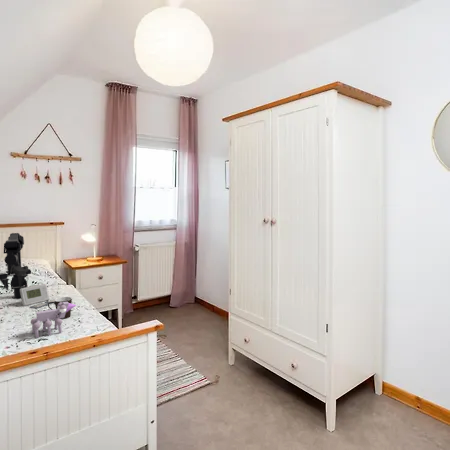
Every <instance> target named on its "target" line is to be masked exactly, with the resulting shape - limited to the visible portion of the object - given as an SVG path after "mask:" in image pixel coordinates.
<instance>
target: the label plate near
mask: <svg viewBox="0 0 450 450" xmlns="http://www.w3.org/2000/svg"><path fill="white" fill-rule="evenodd" d="M47 306H48V303H45V302H41V303H37V304H33V305H32V306H31V305H29V308H31V309H36V310H38V309H40V308H41V309H42V308H43V307H47Z"/></svg>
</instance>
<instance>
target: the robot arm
mask: <svg viewBox="0 0 450 450" xmlns="http://www.w3.org/2000/svg"><path fill="white" fill-rule="evenodd" d="M24 245H25V239H24V236H22V235H20V233H19V232H12V233H10V234H9V236H8V237H7V240H5V241H4V243H3V254H6V256H5V257H4V262H5V266H6V269H7V270H6V271H5V273H4V272H0V282H1V284H2V286H3V287H4V288H5V290H6V291H9V280H10V278H8V277H12V278H11V280H10V290H11V291H12V290H13V296H11V299H17V300H19V299H20V300H21V295H20V289H21V288H26V287H28V281H27V279H26V277H28V276H29V275H31V274H32V270H31V268H29V266H28V265H24V266H22V254H21V253H22V252H21V251H22V249H23V248H24Z"/></svg>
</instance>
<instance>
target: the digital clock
mask: <svg viewBox="0 0 450 450" xmlns="http://www.w3.org/2000/svg"><path fill="white" fill-rule="evenodd" d="M20 295H21V298H20V300H21V304H22V307H26V306H31V305H32V306H33V305H37V304H40V303H45V302H47V301H50V295H49V291H48V286H47V284H46V283H40V284H35V285H32V286H31V285H30V286H27V287H26V288H21V289H20Z"/></svg>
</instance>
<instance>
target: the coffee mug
mask: <svg viewBox="0 0 450 450" xmlns="http://www.w3.org/2000/svg"><path fill="white" fill-rule="evenodd" d="M54 299H55V300H54ZM54 299H53V300H54V301H55V302H50V303H53V304H54V306H55V310H56V309H58V308H57V307H58V306H57V305H58V303H60V302H62V303H63V302H68V303H71V304H73V302H72V301H73V298H72V297H71V296H62V297H57V298H54ZM50 303H47V304H48V305H47V306H48V308H49V310H52V309H53V308H52V307H51V306H50V305H51V304H50ZM71 314H72V309H70V310H69V311H67V312H66V314H65V317H64V318H59V319H62V320H65V319H69V318H71ZM57 315H59V313H58V314H57Z"/></svg>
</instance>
